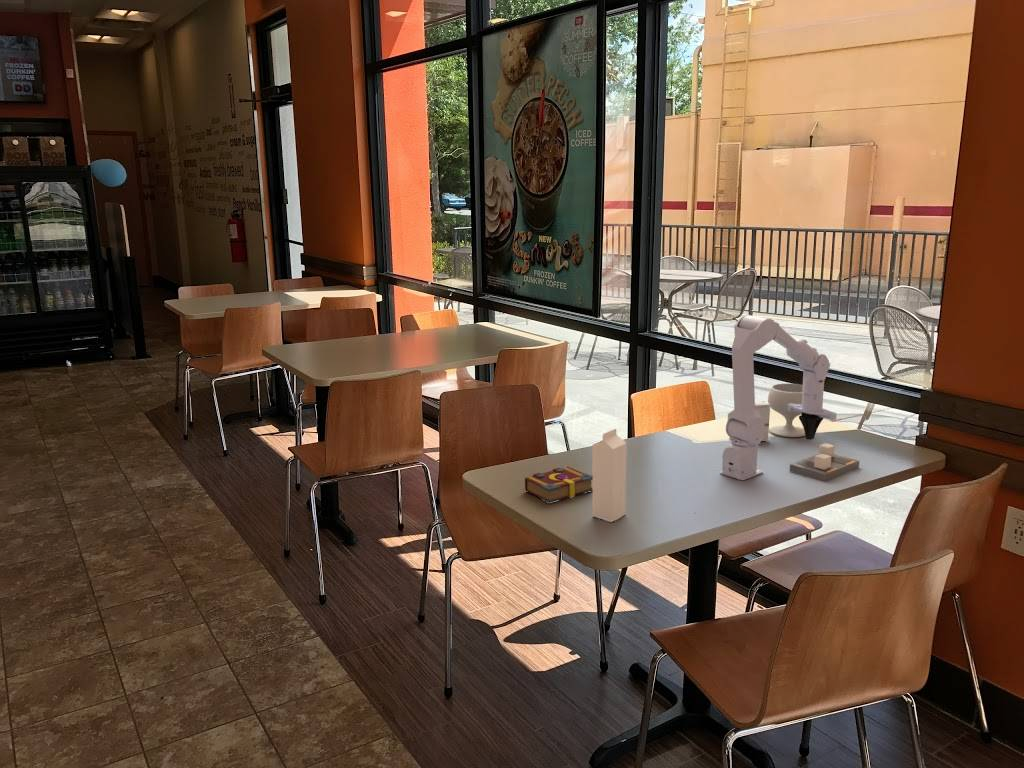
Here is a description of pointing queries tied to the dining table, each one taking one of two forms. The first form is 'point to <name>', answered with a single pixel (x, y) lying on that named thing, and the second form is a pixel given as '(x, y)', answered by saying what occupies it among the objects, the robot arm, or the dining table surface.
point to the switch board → (837, 468)
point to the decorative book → (558, 484)
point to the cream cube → (826, 449)
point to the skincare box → (764, 416)
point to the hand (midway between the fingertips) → (809, 439)
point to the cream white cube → (822, 461)
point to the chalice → (786, 408)
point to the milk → (609, 477)
